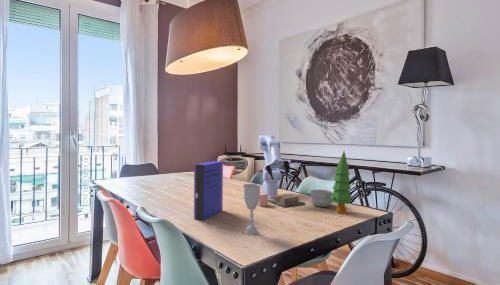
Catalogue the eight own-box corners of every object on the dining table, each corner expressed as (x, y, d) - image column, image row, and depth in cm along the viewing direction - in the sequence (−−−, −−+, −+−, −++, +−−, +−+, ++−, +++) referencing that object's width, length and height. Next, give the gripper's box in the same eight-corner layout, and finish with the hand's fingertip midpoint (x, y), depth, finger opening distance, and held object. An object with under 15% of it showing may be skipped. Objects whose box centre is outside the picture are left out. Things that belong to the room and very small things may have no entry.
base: (268, 201, 164) (268, 194, 164) (288, 199, 171) (288, 192, 171) (283, 207, 152) (283, 199, 152) (304, 204, 159) (305, 196, 159)
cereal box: (213, 209, 147) (214, 160, 146) (222, 210, 145) (222, 161, 144) (194, 218, 131) (194, 164, 130) (203, 220, 129) (203, 164, 128)
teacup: (308, 206, 155) (308, 191, 155) (313, 202, 165) (314, 187, 164) (335, 210, 148) (335, 194, 148) (339, 205, 158) (340, 190, 158)
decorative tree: (353, 211, 146) (354, 150, 144) (348, 216, 138) (349, 151, 136) (333, 208, 151) (334, 149, 150) (327, 213, 143) (328, 150, 142)
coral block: (254, 204, 158) (254, 193, 158) (262, 203, 160) (262, 192, 160) (259, 206, 154) (259, 195, 153) (267, 205, 156) (268, 194, 156)
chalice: (250, 227, 120) (251, 183, 119) (264, 231, 115) (265, 185, 115) (238, 232, 114) (238, 185, 113) (252, 236, 110) (253, 187, 109)
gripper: (261, 156, 163) (264, 175, 153) (287, 149, 161) (291, 168, 151) (264, 164, 168) (267, 183, 158) (289, 158, 166) (294, 177, 156)
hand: (279, 176), depth 155 cm, fingers open, 7 cm apart
